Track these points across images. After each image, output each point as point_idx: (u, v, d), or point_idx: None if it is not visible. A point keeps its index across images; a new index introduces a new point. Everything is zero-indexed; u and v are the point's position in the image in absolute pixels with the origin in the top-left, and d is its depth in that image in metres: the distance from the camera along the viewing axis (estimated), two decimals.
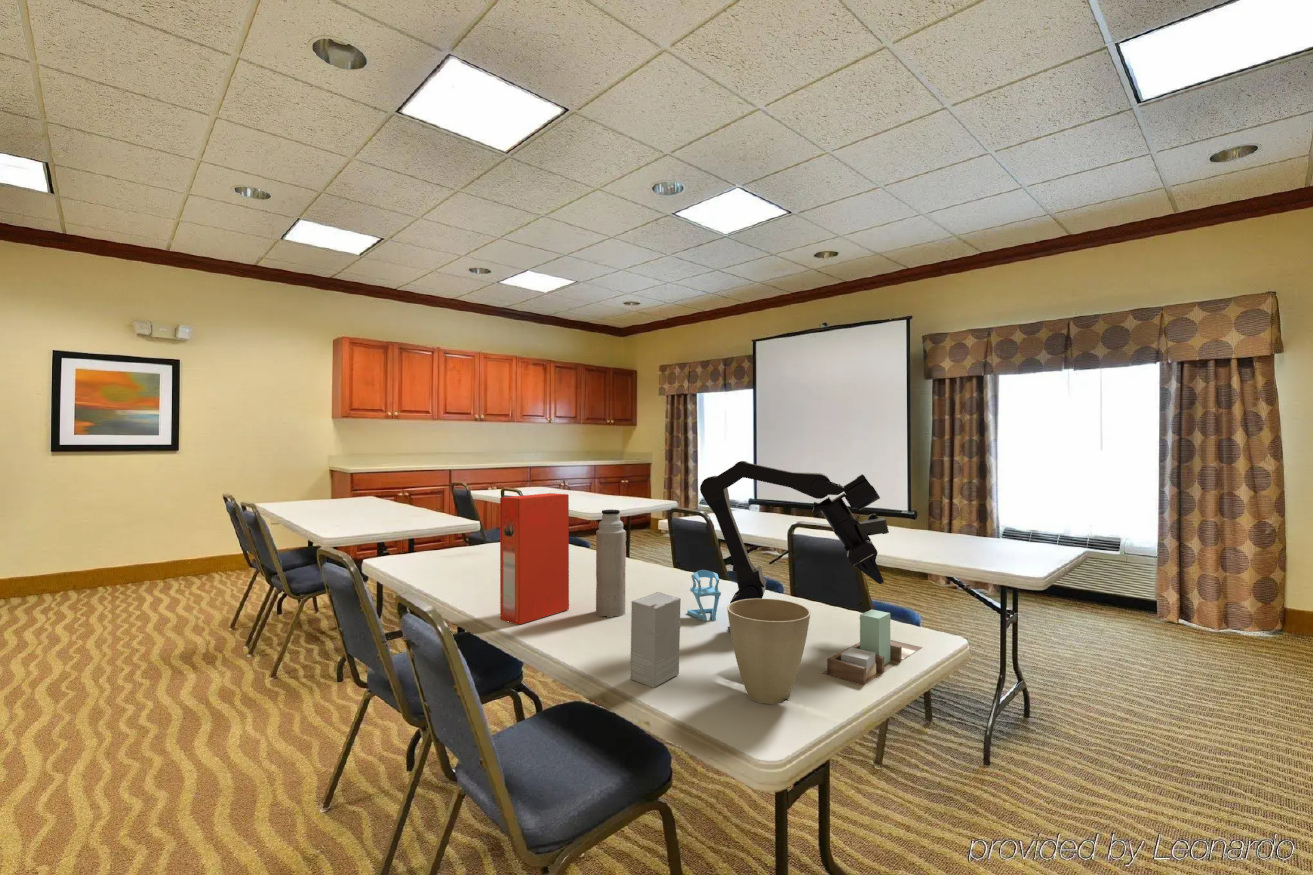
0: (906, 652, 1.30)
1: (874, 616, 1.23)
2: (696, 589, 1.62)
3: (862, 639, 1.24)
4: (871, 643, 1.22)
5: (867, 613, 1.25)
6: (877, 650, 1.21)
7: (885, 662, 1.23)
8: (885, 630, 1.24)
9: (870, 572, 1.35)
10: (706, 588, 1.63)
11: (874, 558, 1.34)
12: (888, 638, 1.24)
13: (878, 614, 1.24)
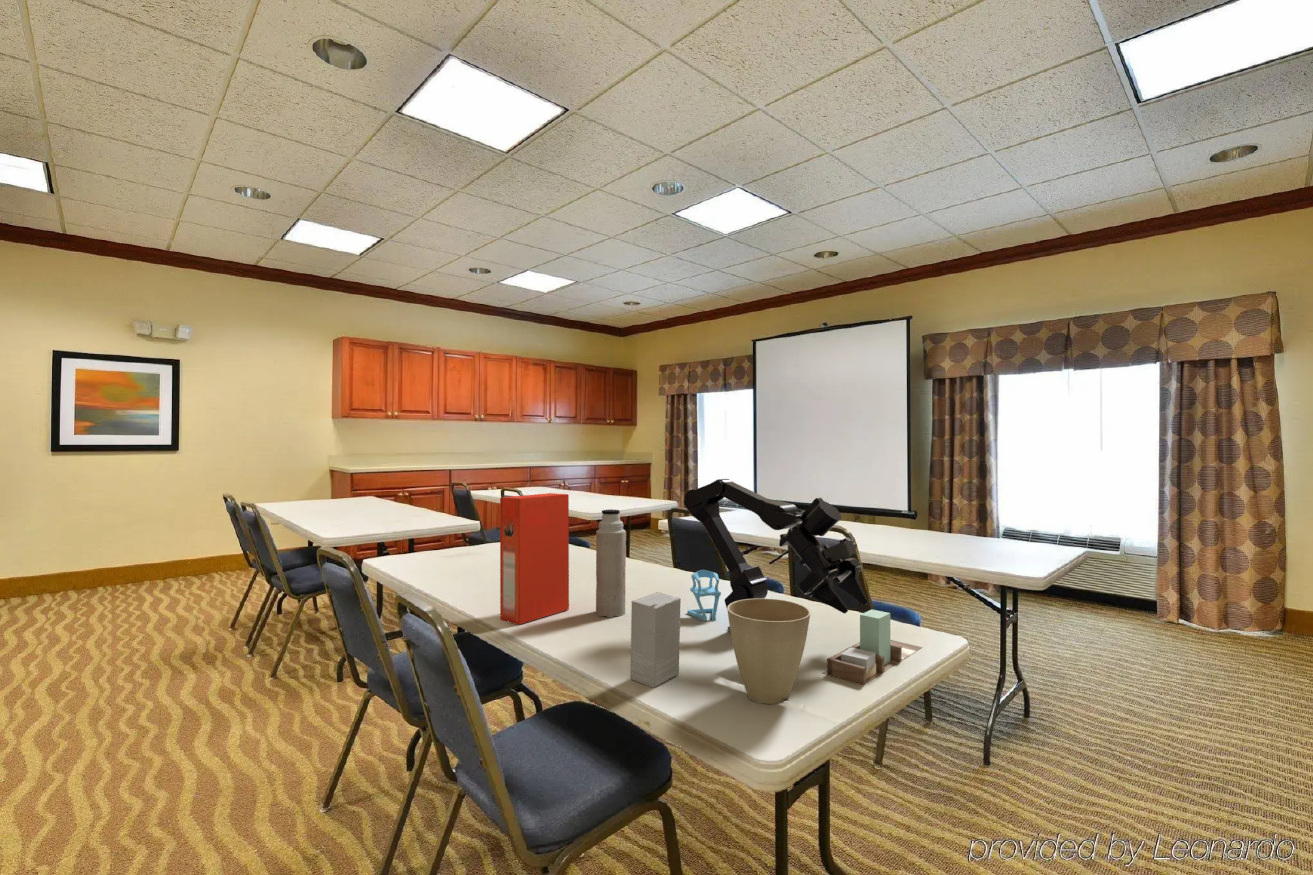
0: (906, 652, 1.30)
1: (874, 616, 1.23)
2: (696, 589, 1.62)
3: (862, 639, 1.24)
4: (871, 643, 1.22)
5: (867, 613, 1.25)
6: (877, 650, 1.21)
7: (885, 662, 1.23)
8: (885, 630, 1.24)
9: (830, 601, 1.25)
10: (706, 588, 1.63)
11: (828, 585, 1.25)
12: (888, 638, 1.24)
13: (878, 614, 1.24)
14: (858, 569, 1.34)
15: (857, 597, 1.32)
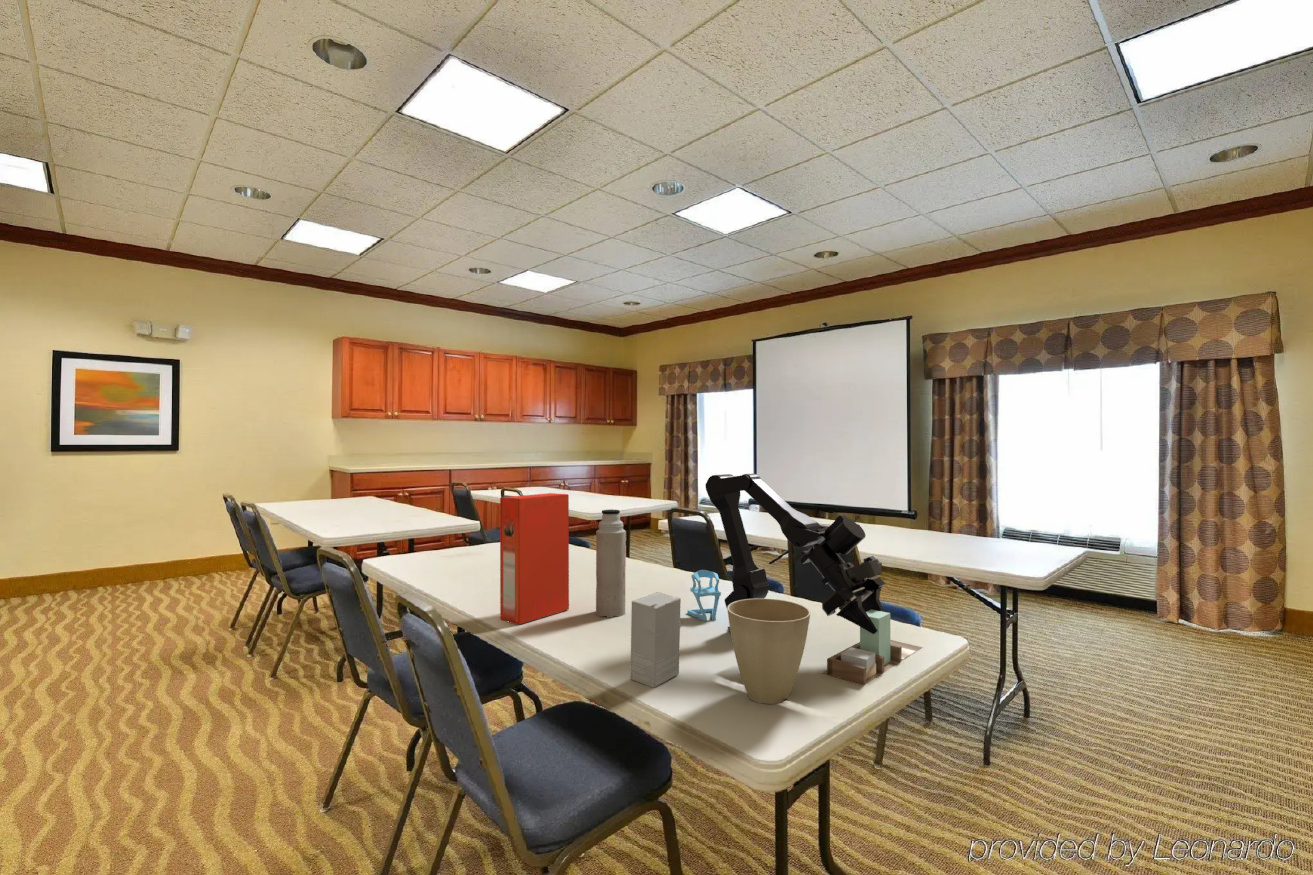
0: (906, 652, 1.30)
1: (874, 616, 1.23)
2: (696, 589, 1.62)
3: (862, 639, 1.24)
4: (871, 643, 1.22)
5: (867, 613, 1.25)
6: (877, 650, 1.21)
7: (885, 662, 1.23)
8: (885, 630, 1.24)
9: (858, 621, 1.23)
10: (706, 588, 1.63)
11: (856, 605, 1.22)
12: (888, 638, 1.24)
13: (878, 614, 1.24)
14: (879, 590, 1.29)
15: None
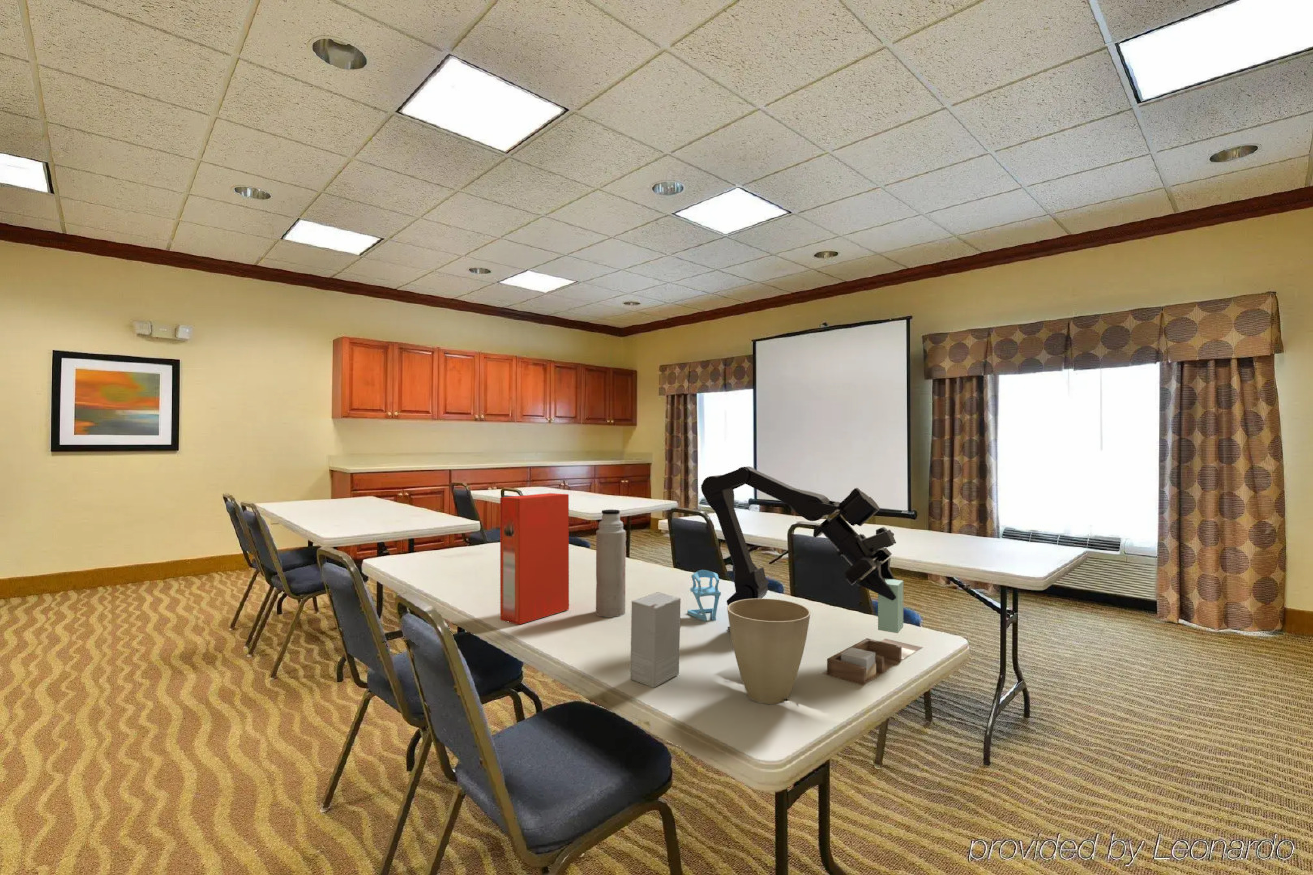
0: (906, 652, 1.30)
1: (892, 583, 1.28)
2: (696, 589, 1.62)
3: (880, 606, 1.28)
4: (889, 610, 1.27)
5: None
6: (896, 616, 1.27)
7: (900, 627, 1.29)
8: (901, 596, 1.29)
9: (878, 589, 1.27)
10: (706, 588, 1.63)
11: (877, 573, 1.27)
12: (902, 604, 1.30)
13: (894, 582, 1.29)
14: (889, 559, 1.35)
15: None
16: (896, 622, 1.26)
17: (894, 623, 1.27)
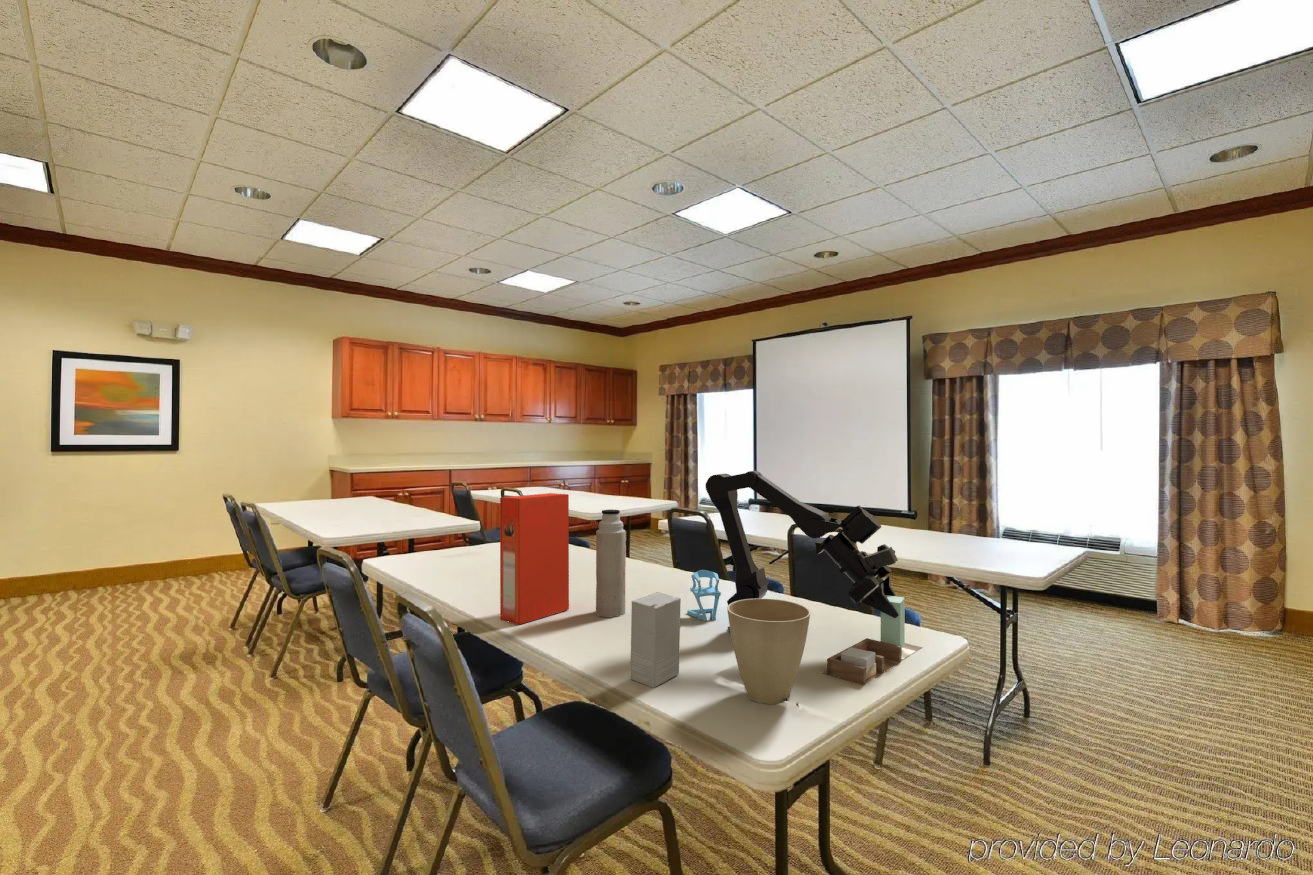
0: (906, 652, 1.30)
1: (894, 601, 1.29)
2: (696, 589, 1.62)
3: (883, 623, 1.29)
4: (892, 627, 1.29)
5: None
6: (898, 633, 1.28)
7: (902, 644, 1.30)
8: (902, 614, 1.30)
9: (881, 606, 1.28)
10: (706, 588, 1.63)
11: (880, 591, 1.28)
12: (903, 621, 1.32)
13: (896, 599, 1.31)
14: (890, 576, 1.36)
15: None
16: (899, 639, 1.28)
17: (896, 640, 1.28)
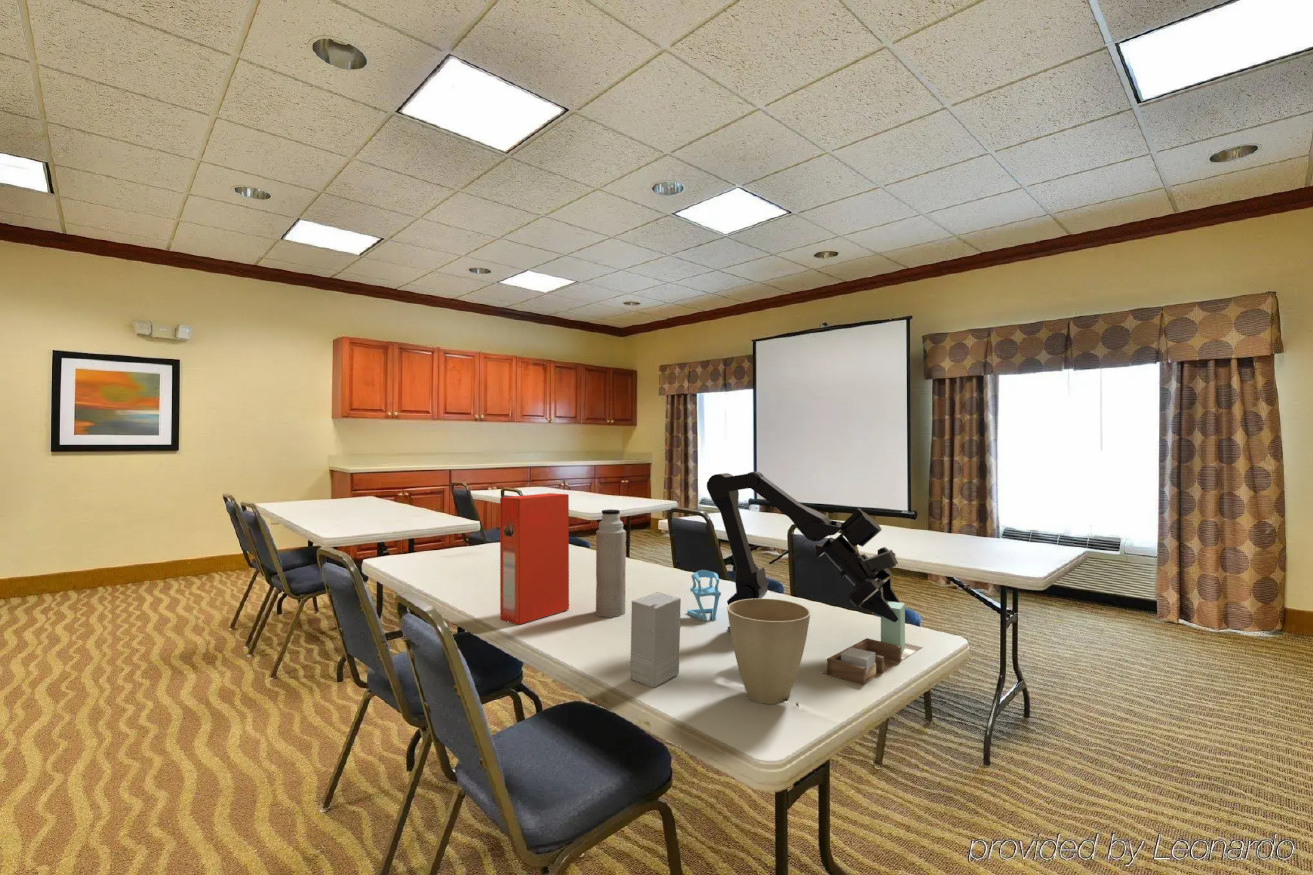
0: (906, 652, 1.30)
1: (894, 607, 1.29)
2: (696, 589, 1.62)
3: (883, 629, 1.29)
4: (892, 633, 1.28)
5: None
6: (899, 639, 1.28)
7: (903, 650, 1.30)
8: (903, 619, 1.30)
9: (880, 611, 1.28)
10: (706, 588, 1.63)
11: (880, 595, 1.27)
12: (904, 627, 1.32)
13: (896, 605, 1.31)
14: (891, 578, 1.37)
15: None
16: (899, 645, 1.28)
17: None
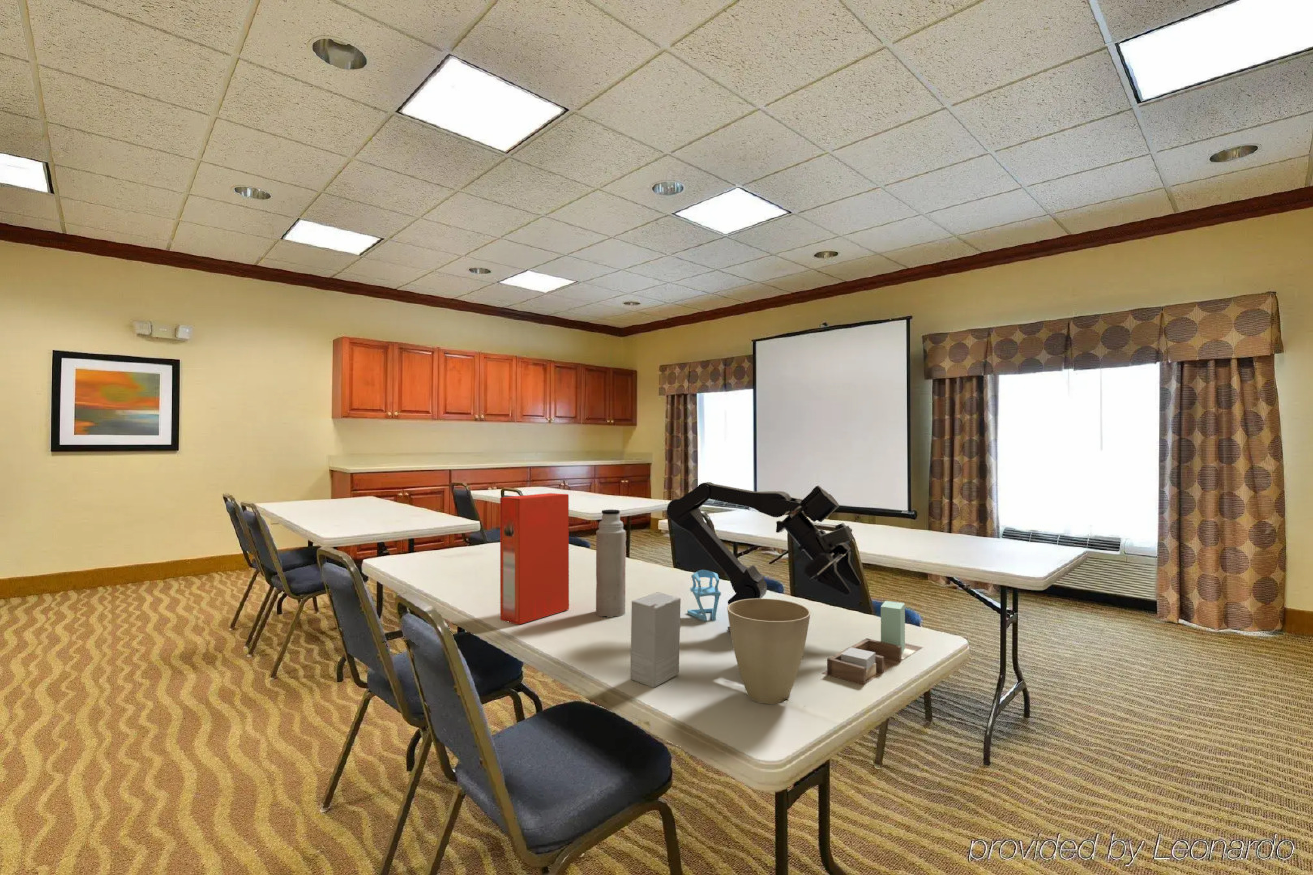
0: (906, 652, 1.30)
1: (894, 607, 1.29)
2: (696, 589, 1.62)
3: (883, 629, 1.29)
4: (892, 633, 1.28)
5: (885, 604, 1.31)
6: (899, 639, 1.28)
7: (903, 650, 1.30)
8: (903, 619, 1.30)
9: (833, 584, 1.32)
10: (706, 588, 1.63)
11: (833, 569, 1.31)
12: (904, 627, 1.32)
13: (896, 605, 1.31)
14: (849, 552, 1.42)
15: (850, 579, 1.40)
16: (899, 645, 1.28)
17: None
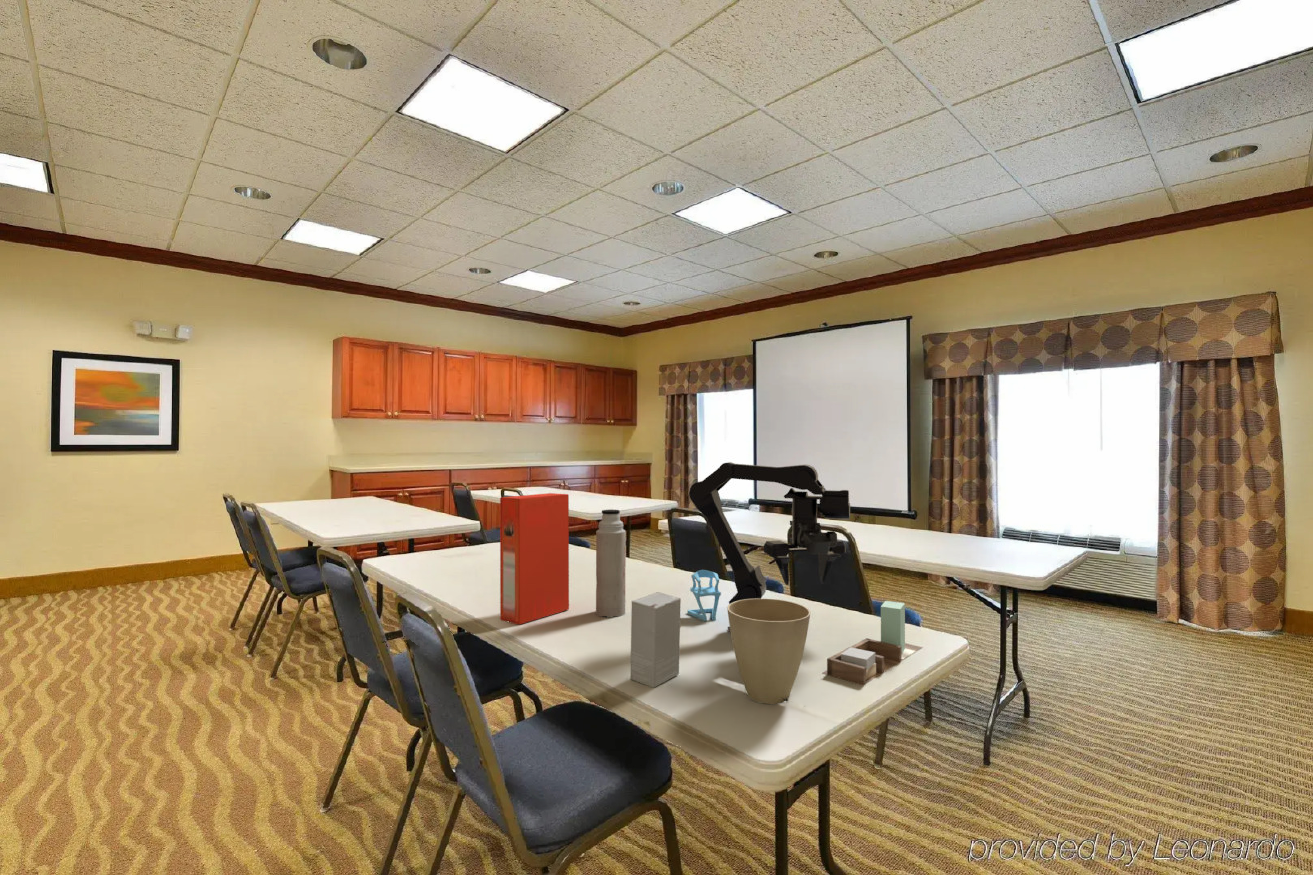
0: (906, 652, 1.30)
1: (894, 607, 1.29)
2: (696, 589, 1.62)
3: (883, 629, 1.29)
4: (892, 633, 1.28)
5: (885, 604, 1.31)
6: (899, 639, 1.28)
7: (903, 650, 1.30)
8: (903, 619, 1.30)
9: (780, 569, 1.42)
10: (706, 588, 1.63)
11: (781, 561, 1.40)
12: (904, 627, 1.32)
13: (896, 605, 1.31)
14: (836, 556, 1.42)
15: (820, 573, 1.44)
16: (899, 645, 1.28)
17: None
